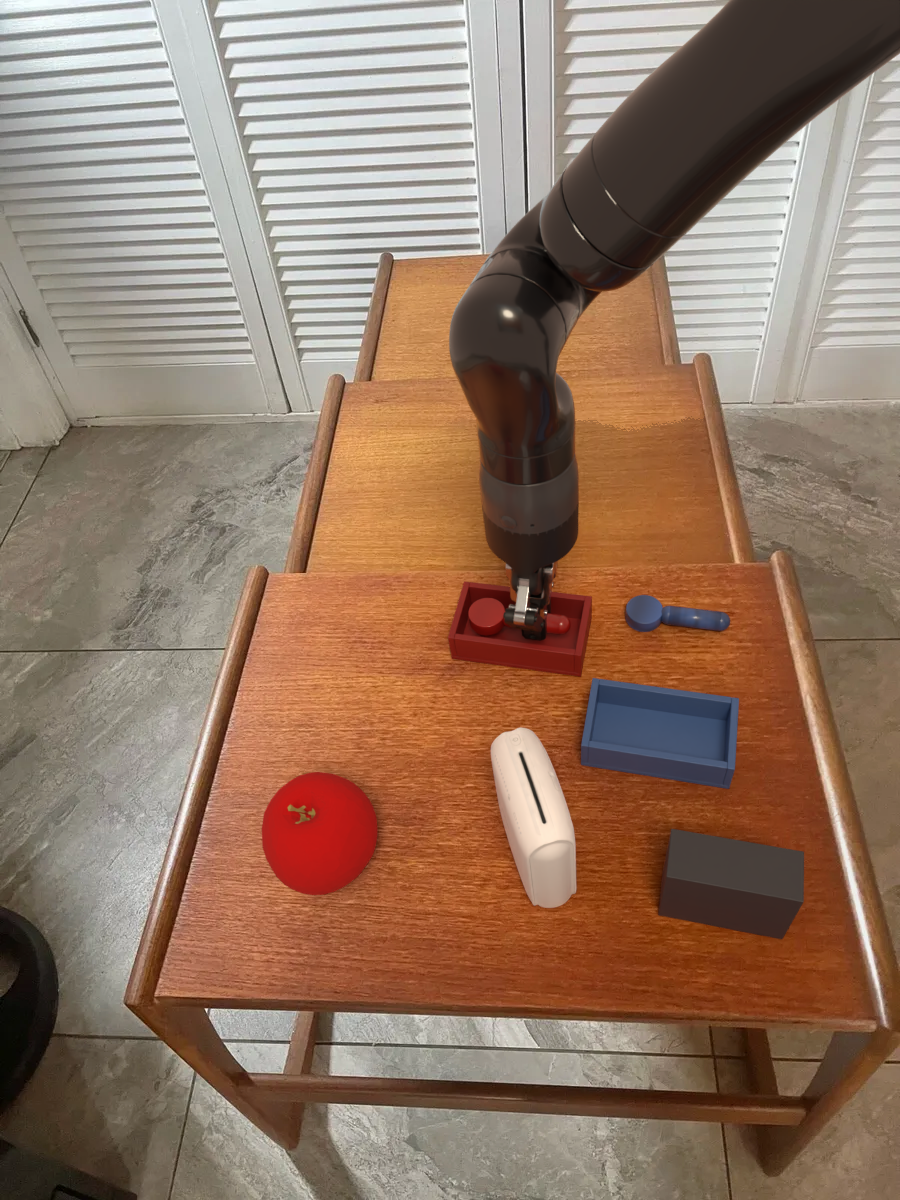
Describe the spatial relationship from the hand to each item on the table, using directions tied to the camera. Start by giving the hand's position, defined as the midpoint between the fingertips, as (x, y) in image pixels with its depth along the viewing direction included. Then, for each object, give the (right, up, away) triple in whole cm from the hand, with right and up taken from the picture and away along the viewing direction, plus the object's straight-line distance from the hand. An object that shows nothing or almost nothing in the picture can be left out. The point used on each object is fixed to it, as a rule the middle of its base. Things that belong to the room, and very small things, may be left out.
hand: (536, 625), depth 83 cm
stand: (+13, -21, -15) cm, 28 cm away
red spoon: (-2, 0, +1) cm, 2 cm away
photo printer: (-1, -18, -10) cm, 21 cm away
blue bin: (+10, -10, -6) cm, 15 cm away
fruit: (-18, -19, -9) cm, 27 cm away
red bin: (-1, -1, +2) cm, 3 cm away
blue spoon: (+13, 0, +2) cm, 13 cm away
